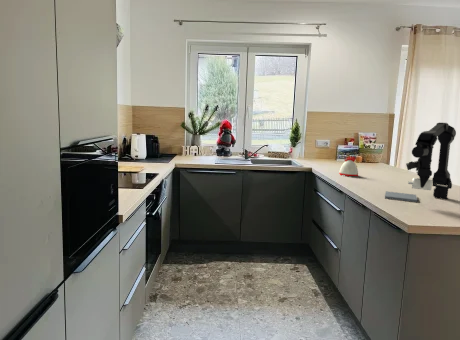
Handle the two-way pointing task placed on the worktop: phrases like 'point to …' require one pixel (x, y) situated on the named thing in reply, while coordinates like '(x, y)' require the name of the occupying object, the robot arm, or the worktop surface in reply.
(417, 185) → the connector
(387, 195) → the slate mat
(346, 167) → the kitchen timer
